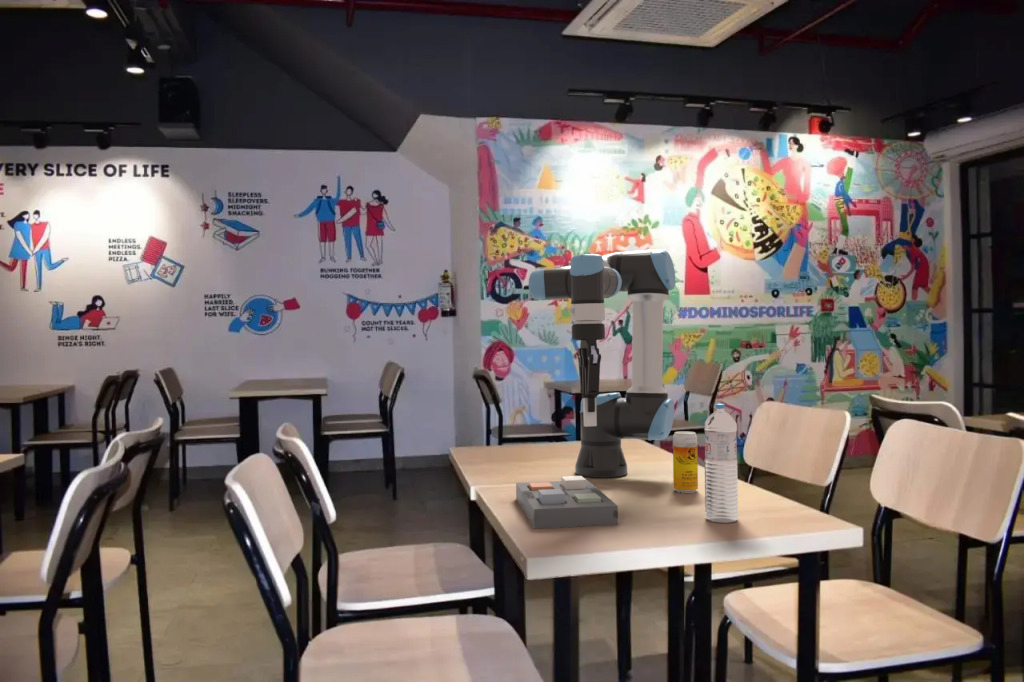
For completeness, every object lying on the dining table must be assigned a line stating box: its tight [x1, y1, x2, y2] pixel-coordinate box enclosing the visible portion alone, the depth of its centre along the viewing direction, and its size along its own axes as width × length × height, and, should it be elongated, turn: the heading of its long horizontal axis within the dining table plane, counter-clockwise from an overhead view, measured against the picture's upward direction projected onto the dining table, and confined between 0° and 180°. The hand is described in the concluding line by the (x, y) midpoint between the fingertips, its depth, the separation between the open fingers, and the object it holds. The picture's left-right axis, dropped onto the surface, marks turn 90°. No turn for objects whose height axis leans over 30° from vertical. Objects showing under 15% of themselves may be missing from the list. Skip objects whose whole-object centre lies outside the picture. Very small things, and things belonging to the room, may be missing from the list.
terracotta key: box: [529, 481, 553, 491], centre depth 172 cm, size 5×5×3 cm
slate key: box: [538, 489, 565, 505], centre depth 158 cm, size 5×5×3 cm
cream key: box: [560, 475, 587, 490], centre depth 173 cm, size 5×5×3 cm
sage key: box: [574, 493, 601, 503], centre depth 159 cm, size 5×5×3 cm
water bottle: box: [703, 403, 739, 524], centre depth 156 cm, size 7×7×25 cm
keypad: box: [515, 479, 619, 529], centre depth 166 cm, size 18×28×4 cm, turn 7°
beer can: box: [672, 430, 699, 494], centre depth 185 cm, size 6×6×15 cm
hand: (590, 425), depth 165 cm, fingers closed
